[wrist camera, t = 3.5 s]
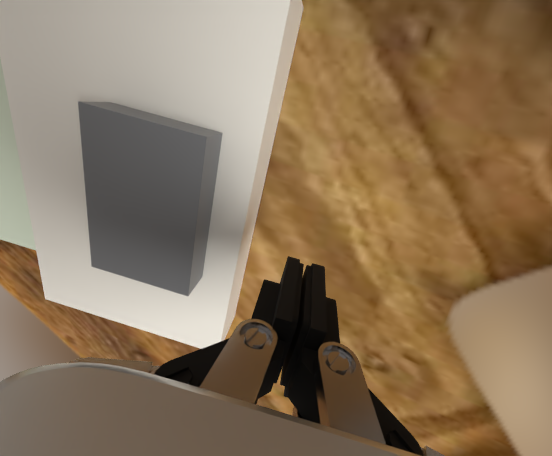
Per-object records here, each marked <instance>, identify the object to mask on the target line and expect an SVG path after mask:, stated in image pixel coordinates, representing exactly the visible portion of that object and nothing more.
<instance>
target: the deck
mask: <svg viewBox="0 0 552 456" xmlns="http://www.w3.org/2000/svg"><path fill="white" fill-rule="evenodd" d="M302 12H303V4H302V0H0V59H1V64H2V69H3V75H4V80H5V85H6V91H7V96H8V101H9V107H10V112H11V118H12V123H13V128H14V134H15V139H16V144H17V150H18V155H19V160H20V166H21V171H22V177H23V182H24V187H25V193H26V198H27V203H28V209H29V214H30V219H31V225H32V230H33V236H34V241H35V246H36V252H37V257H38V262H39V268H40V273H41V278H42V284H43V289H44V295H45V299H47V300H50V301H53V302H56V303H60V304H63V305H66V306H69V307H72V308H75V309H78V310H82V311H85V312H88V313H91V314H94V315H97V316H100V317H104V318H107V319H110V320H113V321H116V322H119V323H122V324H125V325H129V326H132V327H135V328H138V329H141V330H144V331H147V332H151V333H154V334H157V335H160V336H163V337H166V338H169V339H173V340H176V341H179V342H182V343H185V344H188V345H191V346H195V347H198V348H201V349H202V348H205V347H208V346H210V345H213V344H216V343H218V342H221V341H224V340H225V337H226V335H227V333H228V330H229V328H230V326H231V323H232V321H233V319H234V317H235V312H236V308H237V303H238V299H239V294H240V290H241V285H242V281H243V276H244V272H245V268H246V263H247V259H248V254H249V250H250V245H251V241H252V236H253V232H254V227H255V223H256V218H257V214H258V209H259V205H260V200H261V196H262V191H263V187H264V182H265V178H266V174H267V169H268V165H269V160H270V156H271V151H272V147H273V142H274V138H275V133H276V129H277V124H278V120H279V115H280V111H281V106H282V102H283V97H284V93H285V89H286V84H287V80H288V75H289V71H290V66H291V62H292V57H293V53H294V48H295V44H296V39H297V35H298V30H299V26H300V21H301V17H302ZM78 101H82V102H112V103H116V104H119V105H123V106H127V107H130V108H134V109H137V110H141V111H145V112H148V113H152V114H156V115H159V116H163V117H167V118H170V119H174V120H178V121H181V122H185V123H189V124H192V125H196V126H199V127H203V128H207V129H210V130H214V131H218V132H221V133H223V134H222V141H221V148H220V156H219V163H218V170H217V177H216V184H215V191H214V198H213V205H212V213H211V220H210V227H209V234H208V241H207V248H206V255H205V262H204V269H203V277H202V278H201V279H200V281H199V282H198V284H197V285H196V286H195V288H194V289H193V291H192V292H191V293H190V295H189V296H185V295H182V294H178V293H175V292H172V291H169V290H165V289H162V288H159V287H156V286H153V285H149V284H146V283H143V282H140V281H136V280H133V279H130V278H127V277H123V276H120V275H117V274H114V273H110V272H107V271H104V270H101V269H98V268H94V267H92V266H91V254H90V242H89V230H88V217H87V205H86V193H85V181H84V169H83V157H82V145H81V133H80V121H79V109H78Z"/></svg>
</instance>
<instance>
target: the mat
mask: <svg viewBox="0 0 552 456" xmlns="http://www.w3.org/2000/svg"><path fill="white" fill-rule="evenodd" d="M0 239H1V240H4V241H7V242H10V243H14V244H17V245H20V246H23V247H27V248H30V249H33V250H36V246H35V241H34V236H33V230H32V225H31V219H30V214H29V209H28V203H27V198H26V193H25V187H24V182H23V177H22V171H21V166H20V160H19V155H18V150H17V144H16V139H15V134H14V128H13V123H12V118H11V112H10V107H9V101H8V96H7V91H6V85H5V80H4V75H3V69H2V64H1V59H0Z"/></svg>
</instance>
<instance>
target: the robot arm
mask: <svg viewBox="0 0 552 456" xmlns="http://www.w3.org/2000/svg"><path fill="white" fill-rule="evenodd" d="M303 266H304V264H302V263H300V260H299V259H296V258H292V257H289V256H288V258H287V262H286V265H285V268H284V272H283V275H282V278H281V282H280V284H279V283H275V282H272V281H268V280H265V279H264V281H263V285H262V288H261V291H260V294H259V297H258V300H257V303H256V306H255V309H254V312H253V315H252V318H251V319H248V320H244V321H243V322H241V323H240V324H239V325H238V326H237V327H236V329H235V330H234V332H233V334H232V335H231V337H230V338H229V339H226V340H224V341H221V342H218V343H216V344H213V345H210V346H208V347H205V348H202V349H200V350H197V351H194V352H192V353H189V354H186V355H184V356H181V357H179V358H176V359H173V360H171V361H168V362H167V363H165V364H163V365H162V366H152V362H146V361H132V360H119V359H105V358H92V357H88V358H79V359H76V360H73V361H70V362H69V363H60V364H52V365H45V366H40V367H36V368H31V369H28V370H25V371H22V372H19V373H17V374H14V375H12V376H10V377H8V378H6V379H4V380H2V381H1V382H0V456H444V455H442V454H440V453H439V452H437V451H435V450H433V449H431V448H429V447H427V446H425V447H424V448H421V447H420V446H419V444H418V442H417V441H416V440H415V438H414V437H413V436H412V435H411V433H410V432H409V431H408V430H407V429H406V428H405V427H404V426H403V425H402V424H401V423H400V422H399V421H398V420H397V418H396V417H395V416H394V415H393V414H392V413H391V412H390V411H389V410H388V409H387V408H386V407H385V406H384V405H383V403H382V402H381V401H380V400H379V399H378V398H377V397H376V396H375V395H374V394H373V393H372V392H371V391H370V390H369V389H368V387H367V384H366V381H365V378H364V375H363V372H362V369H361V365H360V363H359V360H358V358H357V357H356V355H355V354H354V353H353V352H352V351H351V350H350V349H349V348H348V347H346V346H344V345H342V344H340V338H339V328H338V317H337V306H336V301H335V300H334V299H330V298H327V297H326V290H325V267H324V266H320V265H317V264H313V263H312V265H311V266H309V265H307V266H306V269H305V272H304V275H303ZM302 276H303V278H302ZM282 366H283V367H282ZM281 369H282V374H281V382H280V385H283V386H285V390H284V396H285V397H288V398H289V399H290V401H291V402H292V403H293V405H294V408H293V416H292V415H288V414H285V413H282V412H279V411H275V410H272V409H269V408H266V407H262V406H259V405H256V404H257V401H258V399H259V398H260V397H262V396H264V395H265V394H267V393H269V392H271V389H272V386H273V383H277V380H278V377H279V375H280V372H281Z"/></svg>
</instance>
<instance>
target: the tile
mask: <svg viewBox="0 0 552 456" xmlns="http://www.w3.org/2000/svg"><path fill="white" fill-rule="evenodd" d="M78 109H79V121H80V133H81V145H82V157H83V169H84V181H85V193H86V205H87V217H88V230H89V242H90V254H91V266H92V267H94V268H98V269H101V270H104V271H107V272H110V273H114V274H117V275H120V276H123V277H127V278H130V279H133V280H136V281H140V282H143V283H146V284H149V285H153V286H156V287H159V288H162V289H165V290H169V291H172V292H175V293H178V294H182V295H185V296H189V295H190V293H191V292H192V291H193V289H194V288H195V286H196V285H197V284H198V282H199V281H200V279H201V278H202V277H203V269H204V262H205V255H206V248H207V241H208V234H209V227H210V220H211V213H212V205H213V198H214V191H215V184H216V177H217V170H218V163H219V156H220V148H221V141H222V134H223V133H221V132H218V131H214V130H210V129H207V128H203V127H199V126H196V125H192V124H189V123H185V122H181V121H178V120H174V119H170V118H167V117H163V116H159V115H156V114H152V113H148V112H145V111H141V110H137V109H134V108H130V107H127V106H123V105H119V104H116V103H112V102H82V101H78Z"/></svg>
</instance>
